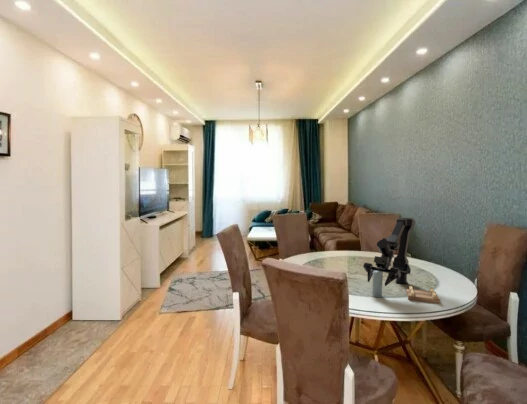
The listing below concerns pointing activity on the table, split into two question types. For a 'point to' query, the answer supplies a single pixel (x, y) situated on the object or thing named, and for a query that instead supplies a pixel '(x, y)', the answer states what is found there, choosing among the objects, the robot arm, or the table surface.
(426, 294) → the display plinth
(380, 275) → the spectacles tube
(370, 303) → the table surface
